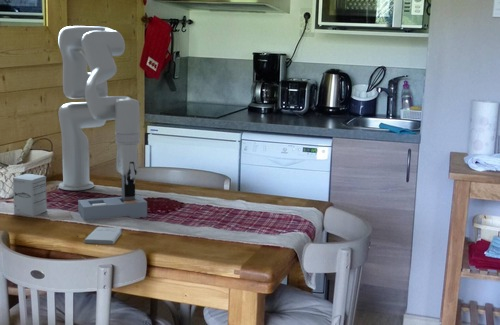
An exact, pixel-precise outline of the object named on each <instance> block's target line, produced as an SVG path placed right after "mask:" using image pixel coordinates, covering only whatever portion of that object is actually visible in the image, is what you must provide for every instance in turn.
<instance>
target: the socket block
mask: <svg viewBox="0 0 500 325" xmlns="http://www.w3.org/2000/svg"><path fill="white" fill-rule="evenodd" d="M77 204H78V205H77V207H78V208H77V210H78V214H79V215H80V217H81V218H82V220H83V221H89V220H90V221H91V220H96V219H97V220H99V219H108V218H109V219H110V218H120V217H129V218H130V219H131V218H132V219H141V218H140V217H143V218H148V201H147V200H146V199H145V198H144V197H143V196H141V195H140V194H138V195H135V200H134V201H124V202H122V196H115V197H114V196H113V197H101V198H100V197H99V198H88V199H78V200H77Z"/></svg>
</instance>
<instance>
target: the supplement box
mask: <svg viewBox="0 0 500 325" xmlns="http://www.w3.org/2000/svg"><path fill="white" fill-rule="evenodd" d="M12 184H13V185H12V186H13V187H12V188H13V192H12V193H13V213H14V215H20V216H21V215H22V216H27V217H35V216H38V215H40V214H42V213H44V212H47V211H48V209H47V176H45V175H42V174H41V175H40V174H32V173H24V174H21V175H17V176H14V177H12Z"/></svg>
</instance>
